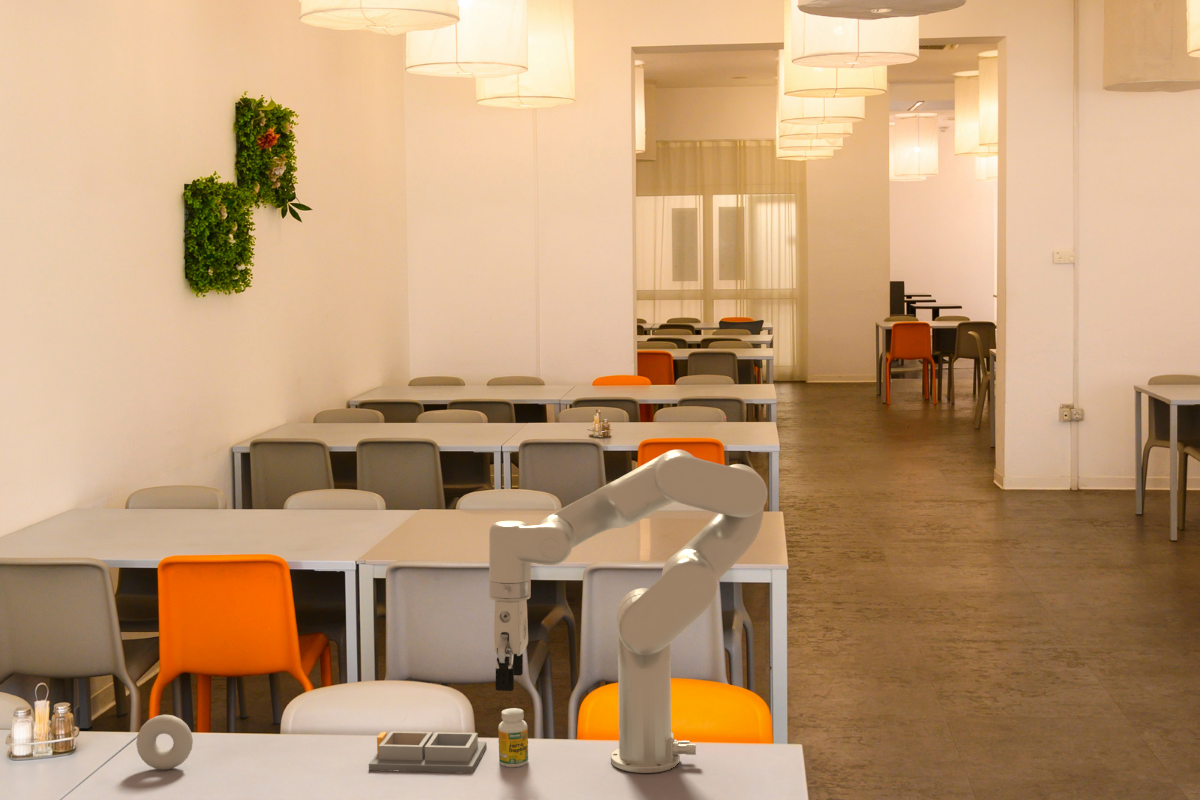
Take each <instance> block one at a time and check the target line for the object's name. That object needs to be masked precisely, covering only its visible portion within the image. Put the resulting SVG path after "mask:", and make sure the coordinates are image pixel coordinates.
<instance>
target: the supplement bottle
mask: <svg viewBox="0 0 1200 800" xmlns="http://www.w3.org/2000/svg"><path fill="white" fill-rule="evenodd" d="M524 716H525V714H524V710H523V709H521V708H517V707H513V708H512V707H511V708H506V709H505V708H504V709H503V710H502V711H501V720H502V721H501V722H500V723H499V724H498V730H497V731H498V733H497V734H498V757H499V758H498V759H499V761H498V762H499V764H500V765H501V766H502V765H503V767H505V766H506V768H521V767H523V766H525V765H526V764H527V763H528V762H529V744H528V743H529V740H528V738H529V736H528V735H529V733H528V732H529V729H528V724H527V722H526V721H525V720H524ZM520 766H521V767H520Z"/></svg>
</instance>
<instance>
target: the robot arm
mask: <svg viewBox="0 0 1200 800" xmlns="http://www.w3.org/2000/svg"><path fill="white" fill-rule="evenodd" d="M767 501H768V488H767V485H766V482H765V480H764V479H763V478H762V476H761V475H760V474H759V473H758V472H757V471H756V470H755V469H754V468H752V467H750V466H748V465H747V464H742V463H741V464H740V463H735V464H731V465H726V464H725V465H724V464H722V463H717V462H714V461H709V460H704V459H702V458H699V457H695V456H694V455H693V454H691V453H690V452H688V451H686V450H683V449H672V450H668V451H666V452H665V453H662V454H660V455H659V456H657V457H655V458H653V459H651V460H650V461H648V462H646V463H644V464H642V465H640V466H639V467H637V468H635V469H634V470H633V469H632V470H631V471H629V472H628V473H626V474H624V475H622V476H620V477H619V478H617V479H614V480H613V481H611V482H608V483H607V484H605V485H604V486H602V487H599V488H598V489H597V490H595V491H592V492H591V493H590V494H587V495H585V496H583V497H581V498H578V499H577V500H575V501H574V502H572V503H570V504H568V505H566V506H564V507H562V508H561V509H559V510H557V511H555V512H553V513H552V514H550V515H548V516H546V517H545V518H543V519H542V520H540V521H539V522H538V524H537V525H529V524H528V523H527V522H525V521H521V520H500V521H497V522H494V523H492V524H491V526H490V528H489V539H488V541H489V547H488V548H489V549H488V550H489V551H488V552H489V554H488V556H489V557H488V562H489V563H488V565H489V569H488V570H489V571H488V572H489V573H488V574H489V575H488V576H489V577H488V578H489V579H488V589H489V590H488V593H489V594H488V597H489V599H490V600H491V601H494V610H493V615H494V616H493V651H494V654H495V655H496V664H495V690H496V691H497V692H498V691H499V692H500V691H501V692H502V691H503V692H512V691H514V689H515V676H518V677H519V676H523V672H524V671H523V670H524V668H523V667H524V665H523V664H524V661H523V660H524V659H523V658H524V654H523V653H524V651H525V649H526V648H527V647H528V644H529V629H528V628H529V626H528V624H529V623H528V622H529V621H528V603H527V601H528V600H529V599H531V591H532V590H531V586H532V585H531V582H532V581H531V577H532V576H531V572H532V567H531V566H532V564H536V565H537V564H538V565H543V566H557V565H559V564H560V565H561V564H562V563H564V562H565V561H566V560H567V559H568V558H569V556H570V555H571V552H572V550H573V548H575V547H576V546H578V545H580V544H582V543H583V542H586V541H588V540H589V539H591V538H593V537H596V536H597V535H599V534H601V533H605V532H607V531H610V530H612V529H613V530H614V529H621V528H626V527H630V526H631V525H635V524H636V523H638V522H639V521H641V520H643V519H645V518H646V517H648V516H649V515H652V514H653V513H655V512H657V511H659V510H660V509H662V508H665V507H666V506H668V505H671V504H672V503H678V504H682V505H685V506H688V507H692V508H697V509H698V510H700V509H701V510H703V511H707V512H713V513H715V514H714V515H713V517H712V518H711V519H710V520H709V522H708V523H707V524H706V525H705V526H704V527H703V528H702V529H701V530H700V531H699V532H698V533H697V534H696V535H695V536H694V537H692V538H691V539H690V540H689V541H688V542H687V543H686V544H684V546H683V547H681V548H680V549H679V550H678V551H676V553H674V554H673V555H672V556H670V557H669V558H668V560H667V561H666V562H665V564H664V565H663V566H662V567H663V568H662V572H661V577H659V578H658V579H657V581H655V582H654V583H653V584H652V585H651V586H650V587H648V588H645V587H640V588H636V589H633V590H631V591H630V592H628V593H626V594H625V595H624V596H623V598H622V599H621V601H620V602H619V605H618V608H617V611H616V612H617V614H616V627H617V656H618V657H617V661H618V662H617V666H618V667H617V671H618V672H617V673H618V677H617V678H618V683H617V684H618V689H617V690H618V748H616V749H615V750H614V751H613V750H612V753H610V763H611V764H612V765H613V766H614V767H615V768H618V769H619V770H622V771H626V772H629V773H638V774H652V773H661V772H666V771H669V770H671V768H672V769H674V768H675V766H676V765H677V764H678V763H679V764H680V762H681V757H680V756H681V755H686V756H696V754H697V752H696V751H697V744H696V743H690V740H677V739H675V738H674V732H672V708H671V707H672V706H671V702H672V701H671V699H672V698H671V696H672V695H671V694H672V693H671V690H672V689H671V688H672V687H671V685H672V683H671V682H672V681H671V677H672V676H671V675H672V674H671V672H672V671H671V665H672V664H671V643H672V642H673V641H674V640H675V639H676V638H677V637H678V636H680V635H681V634H682V633H683V632H684V631H685V630H686V629H687V628H688V627H689V626H691V624H692V623H694V622H695V621H696V620H697V619H698V618H699V617H701V616H702V614H703V613H704V612H705V611H707V609H708V608H709V607H710V606H711V604H712V603H713V601H714V600H715V598H716V595H717V592H718V581H719V580H720V579H721V578H722V577H723V576H724V575H725V574H726V573H727V572H729V570H730V569H731V568H732V567H733V566H734V565H735V564H736V563H737V562H738V561H739V560H740V559H741V558H742V557H743V556H744V555H745V554H746V553H747V552H748V550H749V549H750V548H751V546H753V544H754V543H755V541H756V539H757V537H758V535H759V533H760V530H761V527H762V522H763V518H764V509H765V508H764V507H765V505H766V502H767ZM531 563H532V564H531ZM679 761H680V762H679ZM679 764H678V765H679ZM678 765H677V766H678ZM677 766H676V767H677ZM673 767H674V768H673Z"/></svg>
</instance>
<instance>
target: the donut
mask: <svg viewBox="0 0 1200 800" xmlns="http://www.w3.org/2000/svg"><path fill="white" fill-rule="evenodd" d="M163 734H165V735H168V736H170V738H171V739H172V742H173V744H172V747H171V748H170V749H168V750H164V749H160V747H159V746H158V745H157V738H158V737H159V736H160V735H163ZM135 743H136V744H135V745H136V749H137V753H138V756H139V757H140V758H141V760H142V761H143V762H144V763H145V764H146V765H147V766H149V767H151V768H153V769H155V770H162V771H165V770H172V769H175V768H176V767H178V766H180V765H182V764H183V763H185V761H186V760H187V759H188V757H189V756H190V754H191V751H192V749H193V743H194V739H193V734H192V731H191V729H190V727H189V725H188V724H187V723H186V722H185V721H184V720H182V718H180V717H177V716H175V715H171V714H160V715H156V716H154V717H152V718H150V719H147V721H146V722H145V723H144V724H143V725H141V727H140V729H139V732H138V734H137V737H136V742H135Z"/></svg>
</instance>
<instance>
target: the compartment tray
mask: <svg viewBox="0 0 1200 800" xmlns="http://www.w3.org/2000/svg"><path fill="white" fill-rule="evenodd" d="M387 733H388V731H381V732H380V733H379V734H378V735H377V737H376V749H377V750H376V751H377V753H376V754H375V756H374V757H373V758H372V759H371V761H370V762H369V763H368V771H369V770H392V771H391V772H394V771H393V770H399V771H398V772H409V771H415V773H418V772H419V773H421V772H422V773H424V772H423V771H426V772H425V773H453V772H459V773H460V772H462V774H463V773H464V774H465V773H466V774H468V773H469V774H473V773H474V771H475V769H476V768H477V766H478V764H479V762H480V761H479V759H480V758H481V759H482V757H483V755H484V753H485V752H484V750H485V748H486V749H487V741H478V740H479V738H478V735H479V733H478V732H451V731H449V732H448V731H447V732H446V731H445V732H444V731H442V732H441V731H436V732H434V733H433V731H399V730H398V731H397V730H396V731H394V730H393V731H391V730H390V731H389V733H388V734H387ZM485 751H486V750H485ZM483 752H484V753H483ZM482 754H483V755H482ZM481 756H482V757H481ZM481 759H480V760H481ZM478 761H479V762H478ZM477 763H478V764H477ZM476 765H477V766H476ZM475 767H476V768H475ZM416 771H417V772H416ZM427 771H428V772H427ZM460 774H461V773H460Z"/></svg>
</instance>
